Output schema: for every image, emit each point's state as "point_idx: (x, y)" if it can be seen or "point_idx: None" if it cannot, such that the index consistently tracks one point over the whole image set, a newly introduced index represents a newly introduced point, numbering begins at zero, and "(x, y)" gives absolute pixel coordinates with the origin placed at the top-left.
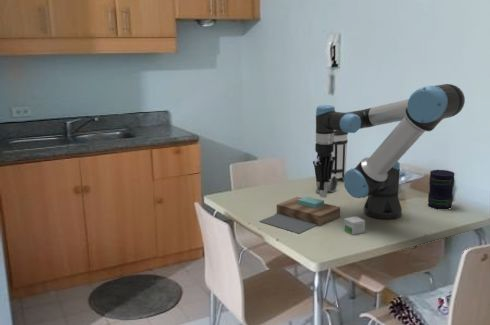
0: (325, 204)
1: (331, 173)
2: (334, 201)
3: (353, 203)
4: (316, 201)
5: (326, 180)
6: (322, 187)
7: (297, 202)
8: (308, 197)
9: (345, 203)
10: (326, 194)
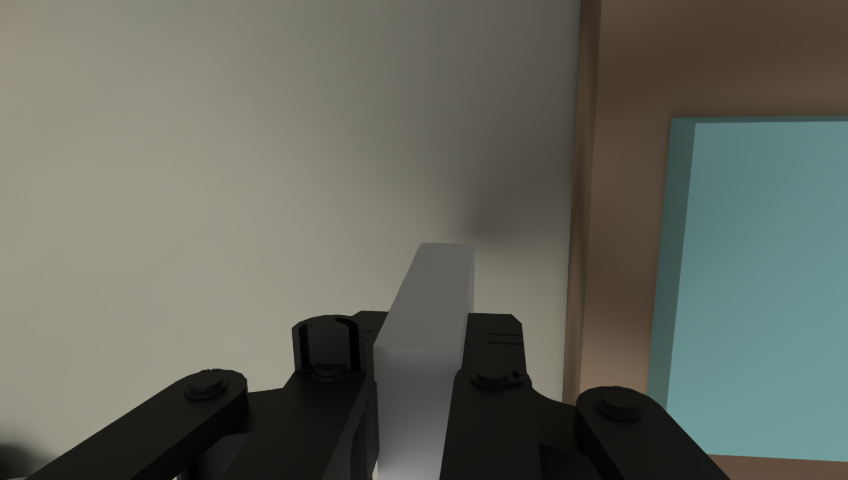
0: (625, 123)
1: (70, 462)
2: (178, 277)
3: (73, 76)
4: (822, 194)
5: (367, 390)
6: (519, 339)
7: (784, 461)
8: (698, 402)
9: (140, 147)
10: (430, 255)
